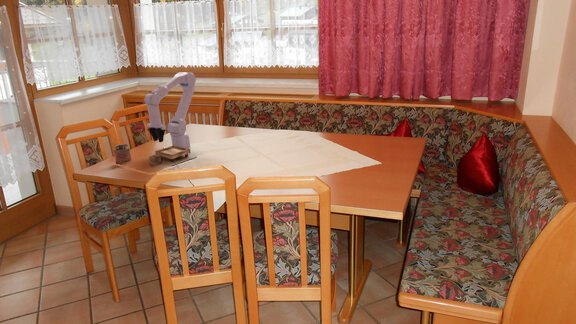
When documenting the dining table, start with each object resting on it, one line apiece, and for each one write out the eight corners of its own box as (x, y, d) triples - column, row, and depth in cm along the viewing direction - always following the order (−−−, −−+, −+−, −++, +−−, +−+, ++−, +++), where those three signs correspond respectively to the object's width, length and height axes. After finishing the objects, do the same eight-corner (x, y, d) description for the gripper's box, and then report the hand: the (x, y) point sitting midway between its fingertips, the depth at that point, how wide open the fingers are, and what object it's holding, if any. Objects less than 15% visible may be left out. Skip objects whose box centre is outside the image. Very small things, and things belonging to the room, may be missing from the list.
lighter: (115, 164, 229) (112, 146, 225) (116, 162, 232) (112, 144, 229) (131, 162, 231) (128, 144, 227) (132, 160, 234) (129, 142, 231)
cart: (174, 152, 240) (173, 145, 238) (191, 156, 231) (190, 148, 230) (156, 158, 231) (154, 151, 230) (172, 162, 222) (171, 154, 221)
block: (157, 163, 226) (155, 154, 224) (161, 165, 224) (160, 155, 222) (150, 165, 223) (149, 156, 222) (155, 167, 221) (153, 157, 219)
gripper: (140, 116, 233) (144, 141, 237) (156, 119, 224) (160, 144, 228) (151, 114, 238) (155, 138, 242) (167, 116, 229) (171, 141, 233)
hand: (158, 141), depth 236 cm, fingers open, 4 cm apart
